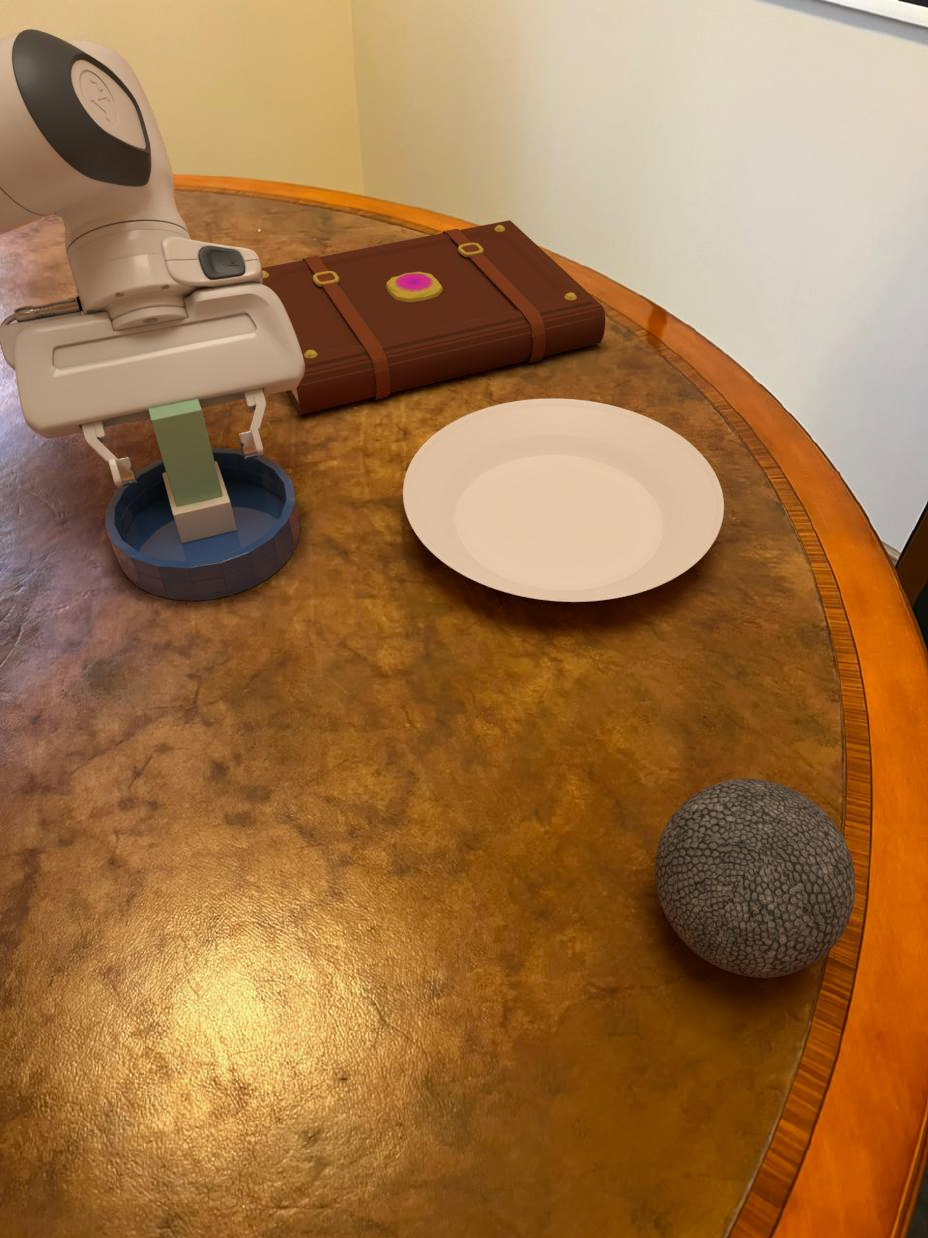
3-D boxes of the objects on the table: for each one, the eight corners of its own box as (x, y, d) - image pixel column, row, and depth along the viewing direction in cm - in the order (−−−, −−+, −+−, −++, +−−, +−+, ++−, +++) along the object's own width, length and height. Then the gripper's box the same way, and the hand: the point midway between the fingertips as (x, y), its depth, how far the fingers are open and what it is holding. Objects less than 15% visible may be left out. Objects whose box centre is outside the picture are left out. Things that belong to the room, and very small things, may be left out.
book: (242, 309, 100) (234, 264, 96) (507, 255, 108) (509, 212, 105) (303, 422, 86) (296, 374, 82) (603, 349, 94) (609, 303, 90)
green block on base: (181, 544, 73) (146, 427, 65) (170, 501, 77) (136, 386, 69) (237, 530, 74) (209, 414, 66) (223, 489, 78) (195, 374, 70)
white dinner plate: (524, 688, 64) (527, 654, 61) (350, 495, 78) (345, 461, 76) (781, 551, 73) (793, 516, 71) (583, 402, 88) (587, 368, 85)
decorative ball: (700, 809, 57) (733, 710, 50) (854, 908, 53) (916, 814, 45) (608, 928, 52) (631, 836, 45) (771, 1049, 47) (826, 968, 40)
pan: (150, 627, 68) (138, 593, 65) (96, 517, 76) (83, 483, 74) (329, 558, 73) (324, 524, 70) (260, 462, 81) (253, 428, 79)
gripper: (-21, 296, 63) (36, 496, 63) (277, 247, 68) (327, 433, 68) (1, 326, 69) (53, 507, 70) (273, 279, 74) (319, 449, 74)
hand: (191, 470), depth 69 cm, fingers open, 8 cm apart
